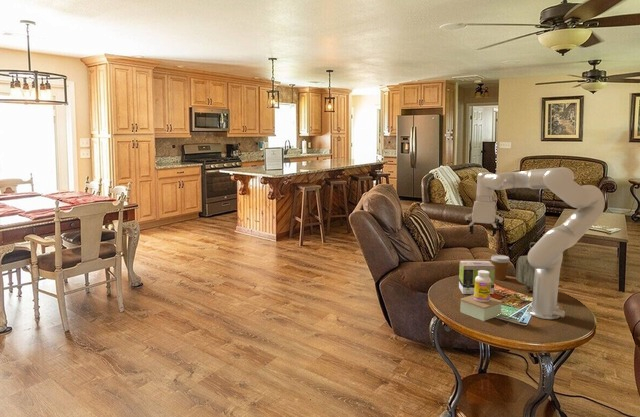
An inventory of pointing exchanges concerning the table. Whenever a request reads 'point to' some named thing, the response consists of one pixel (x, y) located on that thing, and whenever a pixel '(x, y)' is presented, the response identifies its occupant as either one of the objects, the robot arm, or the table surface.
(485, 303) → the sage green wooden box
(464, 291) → the tea box
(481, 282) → the supplement bottle
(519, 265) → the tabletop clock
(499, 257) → the disposable coffee cup
